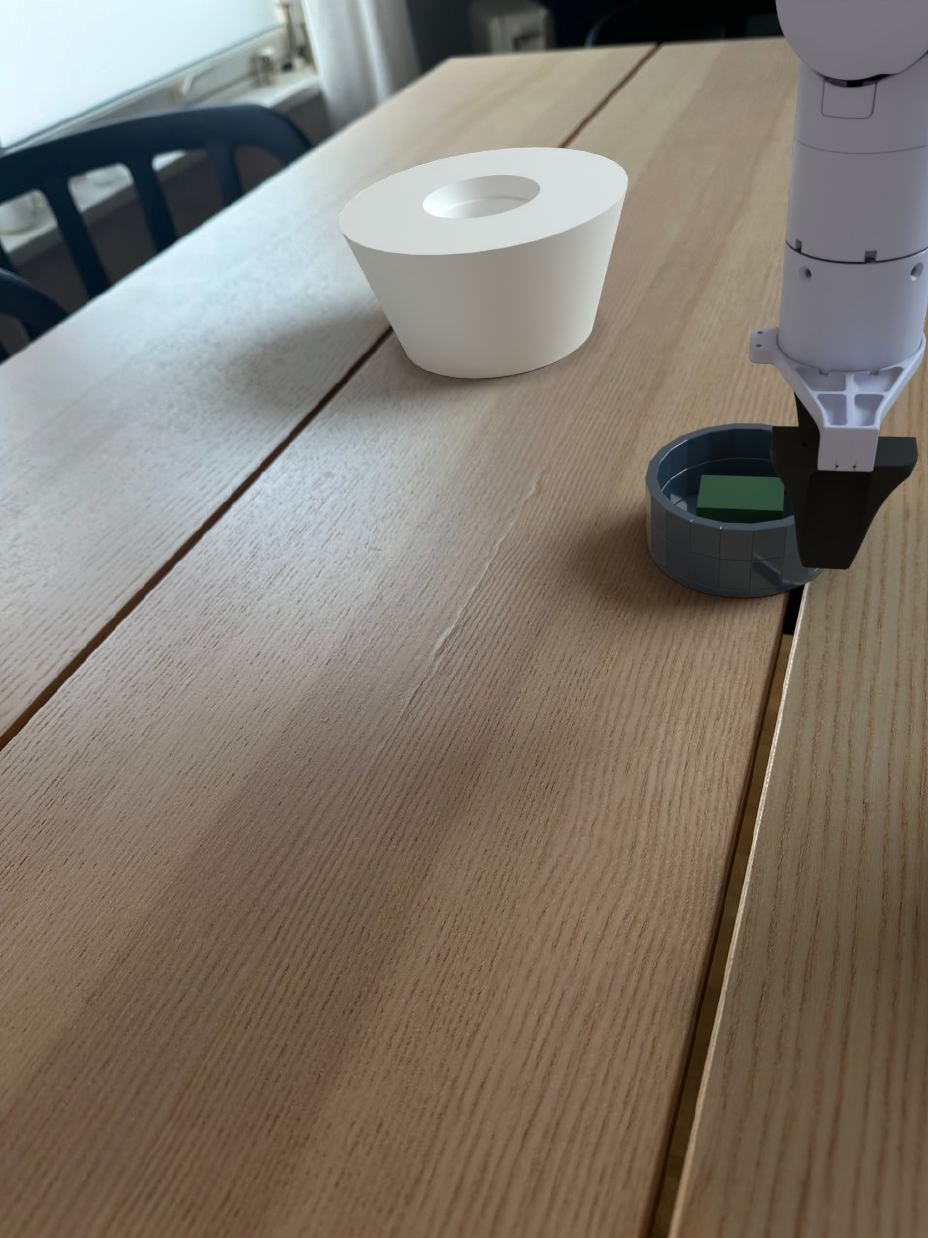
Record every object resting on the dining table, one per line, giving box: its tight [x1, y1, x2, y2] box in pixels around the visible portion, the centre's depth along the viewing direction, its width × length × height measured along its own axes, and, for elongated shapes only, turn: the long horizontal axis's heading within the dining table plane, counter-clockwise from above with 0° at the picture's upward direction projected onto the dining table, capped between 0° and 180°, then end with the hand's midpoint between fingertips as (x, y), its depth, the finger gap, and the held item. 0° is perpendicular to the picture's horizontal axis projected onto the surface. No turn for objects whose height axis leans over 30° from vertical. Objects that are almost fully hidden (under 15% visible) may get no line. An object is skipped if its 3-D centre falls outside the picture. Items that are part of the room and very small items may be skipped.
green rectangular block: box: [696, 475, 784, 524], centre depth 61 cm, size 5×4×3 cm
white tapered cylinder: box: [337, 146, 629, 379], centre depth 85 cm, size 24×24×12 cm
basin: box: [644, 422, 825, 599], centre depth 60 cm, size 11×11×5 cm
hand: (825, 514), depth 48 cm, fingers open, 7 cm apart
